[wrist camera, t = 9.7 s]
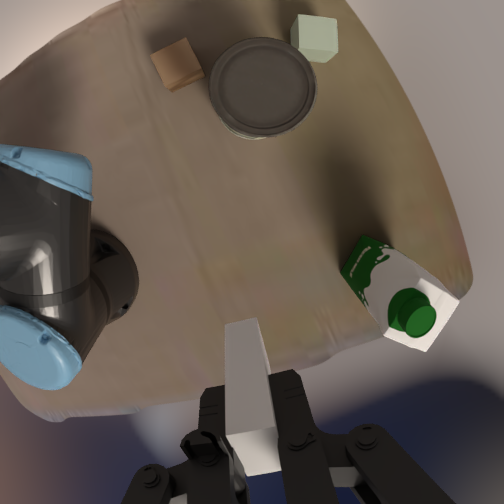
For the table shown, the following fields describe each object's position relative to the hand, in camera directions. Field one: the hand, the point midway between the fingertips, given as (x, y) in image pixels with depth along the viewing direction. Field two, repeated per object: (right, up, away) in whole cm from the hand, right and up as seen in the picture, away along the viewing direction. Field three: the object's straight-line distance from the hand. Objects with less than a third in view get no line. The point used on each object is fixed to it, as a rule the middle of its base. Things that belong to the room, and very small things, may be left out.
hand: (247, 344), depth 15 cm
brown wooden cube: (-10, +29, +23) cm, 39 cm away
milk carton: (+19, +3, +34) cm, 39 cm away
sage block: (+8, +33, +23) cm, 41 cm away
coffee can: (0, +24, +26) cm, 35 cm away
